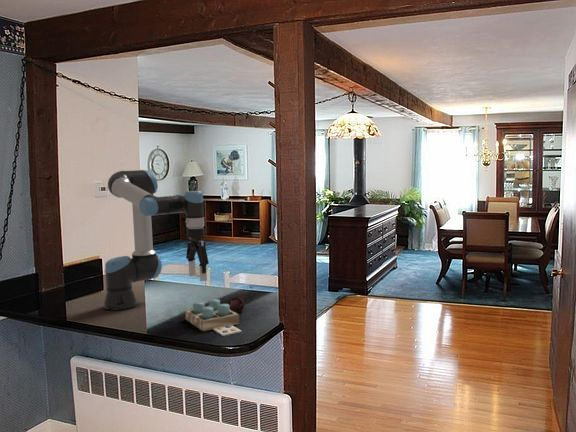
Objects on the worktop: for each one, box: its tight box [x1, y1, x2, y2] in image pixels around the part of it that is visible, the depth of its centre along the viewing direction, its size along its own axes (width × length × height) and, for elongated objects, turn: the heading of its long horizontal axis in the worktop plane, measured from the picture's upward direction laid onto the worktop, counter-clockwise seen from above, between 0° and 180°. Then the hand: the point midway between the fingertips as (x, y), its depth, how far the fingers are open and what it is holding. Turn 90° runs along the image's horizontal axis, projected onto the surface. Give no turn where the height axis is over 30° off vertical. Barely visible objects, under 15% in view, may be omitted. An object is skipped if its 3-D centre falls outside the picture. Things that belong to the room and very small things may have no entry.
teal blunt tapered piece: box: [218, 303, 231, 317], centre depth 215 cm, size 5×5×5 cm
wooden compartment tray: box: [184, 305, 240, 332], centre depth 218 cm, size 20×16×4 cm
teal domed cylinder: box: [202, 306, 214, 320], centre depth 211 cm, size 5×5×5 cm
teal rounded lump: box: [192, 301, 206, 314], centre depth 220 cm, size 5×5×5 cm
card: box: [212, 324, 242, 337], centre depth 205 cm, size 10×8×1 cm
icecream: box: [228, 295, 246, 313], centre depth 231 cm, size 7×7×15 cm
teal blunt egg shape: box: [208, 298, 221, 311], centre depth 223 cm, size 5×5×5 cm
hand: (197, 278), depth 219 cm, fingers open, 12 cm apart
